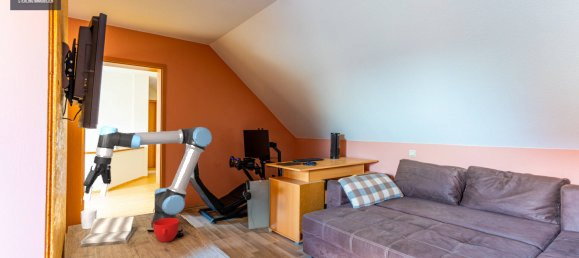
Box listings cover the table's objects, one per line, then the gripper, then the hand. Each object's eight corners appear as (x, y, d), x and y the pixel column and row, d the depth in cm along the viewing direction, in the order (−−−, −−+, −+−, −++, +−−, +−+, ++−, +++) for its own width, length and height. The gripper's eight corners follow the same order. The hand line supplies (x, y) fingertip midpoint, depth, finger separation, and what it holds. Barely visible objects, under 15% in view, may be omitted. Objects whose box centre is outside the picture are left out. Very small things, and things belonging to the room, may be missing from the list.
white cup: (98, 224, 180) (98, 208, 180) (94, 229, 173) (94, 212, 173) (83, 225, 178) (83, 209, 178) (78, 230, 170) (78, 213, 170)
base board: (136, 229, 174) (136, 224, 174) (127, 243, 153) (127, 238, 153) (94, 232, 167) (94, 227, 167) (78, 247, 146) (78, 242, 146)
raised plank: (134, 218, 172) (133, 216, 171) (130, 232, 164) (130, 230, 163) (95, 220, 166) (94, 218, 165) (89, 235, 158) (89, 233, 157)
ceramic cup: (149, 248, 146) (149, 228, 146) (155, 236, 162) (155, 218, 162) (176, 246, 150) (177, 227, 150) (180, 234, 166) (180, 217, 166)
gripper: (109, 155, 162) (101, 193, 160) (80, 155, 137) (70, 200, 135) (123, 157, 163) (115, 195, 160) (96, 157, 138) (87, 202, 136)
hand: (94, 198), depth 148 cm, fingers open, 13 cm apart
